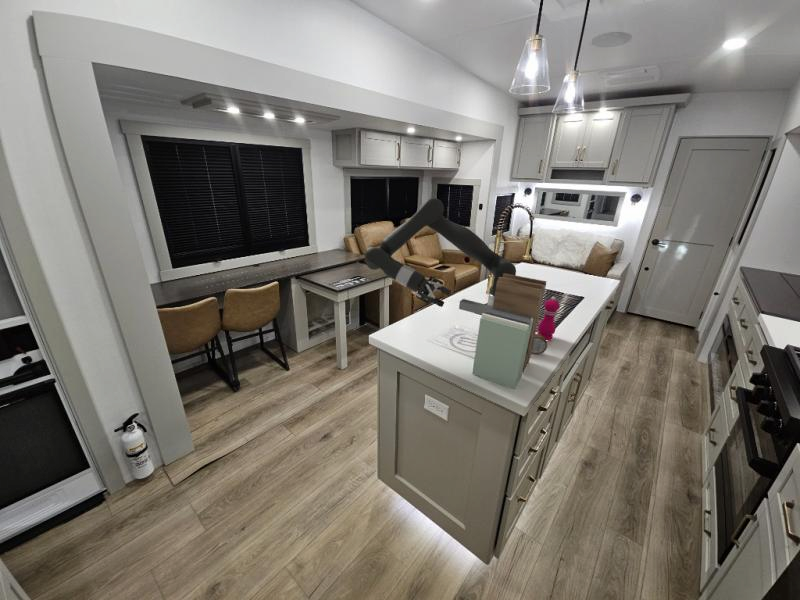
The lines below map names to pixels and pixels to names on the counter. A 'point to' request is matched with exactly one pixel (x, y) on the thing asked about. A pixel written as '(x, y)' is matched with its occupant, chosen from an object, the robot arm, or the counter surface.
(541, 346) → the tin
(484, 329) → the sage green box
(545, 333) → the pepper mill
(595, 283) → the counter surface
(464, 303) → the bar
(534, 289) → the walnut post
